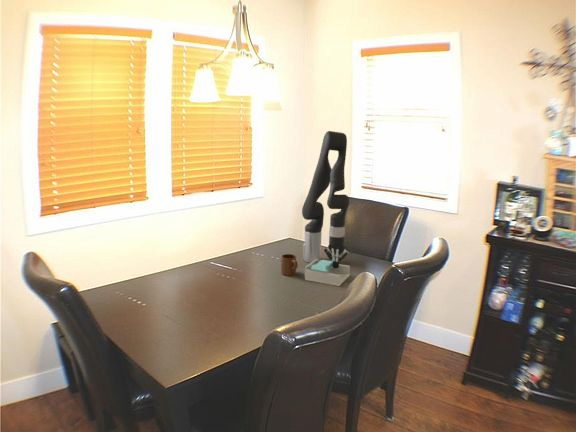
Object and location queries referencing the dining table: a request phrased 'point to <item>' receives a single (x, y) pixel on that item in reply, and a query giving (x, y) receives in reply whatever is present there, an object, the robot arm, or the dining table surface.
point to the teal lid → (323, 266)
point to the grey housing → (327, 274)
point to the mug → (288, 264)
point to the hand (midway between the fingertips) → (335, 267)
